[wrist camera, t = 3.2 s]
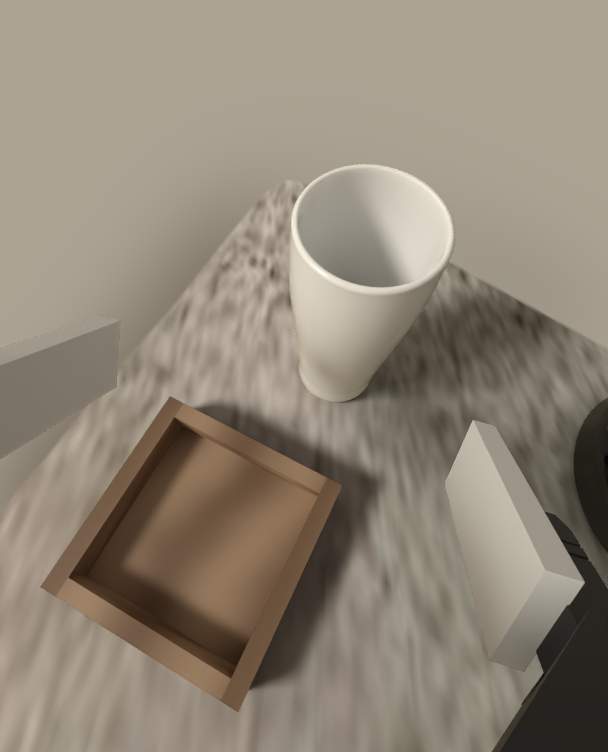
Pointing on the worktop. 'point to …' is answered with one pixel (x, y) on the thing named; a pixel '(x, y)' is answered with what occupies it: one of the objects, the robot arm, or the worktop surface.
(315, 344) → the white tumbler cup
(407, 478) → the worktop surface
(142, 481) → the walnut tray
